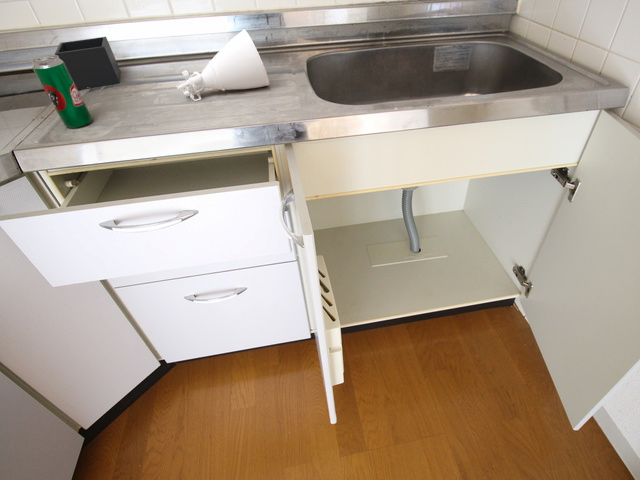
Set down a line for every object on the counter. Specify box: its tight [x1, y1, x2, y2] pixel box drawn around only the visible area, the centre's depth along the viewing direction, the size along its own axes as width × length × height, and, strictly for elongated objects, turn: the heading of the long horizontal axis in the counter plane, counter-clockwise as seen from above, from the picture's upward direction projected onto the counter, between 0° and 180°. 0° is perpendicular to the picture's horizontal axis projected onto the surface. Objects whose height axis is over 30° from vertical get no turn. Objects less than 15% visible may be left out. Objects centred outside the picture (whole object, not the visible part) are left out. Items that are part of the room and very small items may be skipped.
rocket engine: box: [176, 29, 270, 102], centre depth 84 cm, size 12×12×18 cm
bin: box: [54, 36, 121, 90], centre depth 94 cm, size 10×10×8 cm
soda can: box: [31, 54, 93, 129], centre depth 74 cm, size 5×5×12 cm
